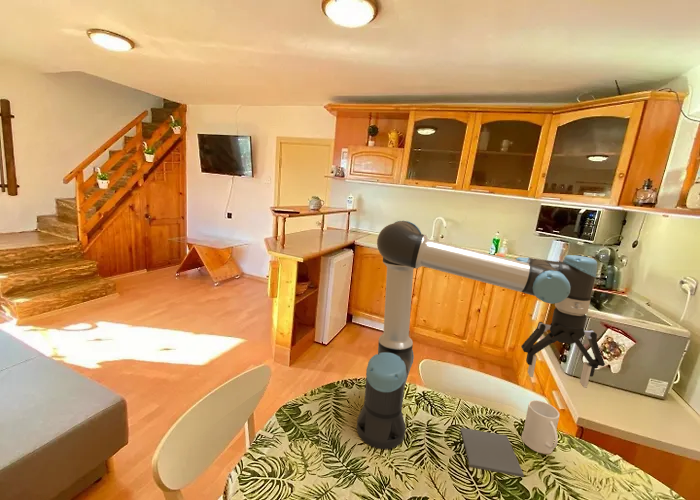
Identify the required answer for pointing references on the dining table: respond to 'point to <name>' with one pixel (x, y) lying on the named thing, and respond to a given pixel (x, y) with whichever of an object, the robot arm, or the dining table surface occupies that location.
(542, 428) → the mug
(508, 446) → the coaster
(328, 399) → the dining table surface
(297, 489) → the dining table surface
